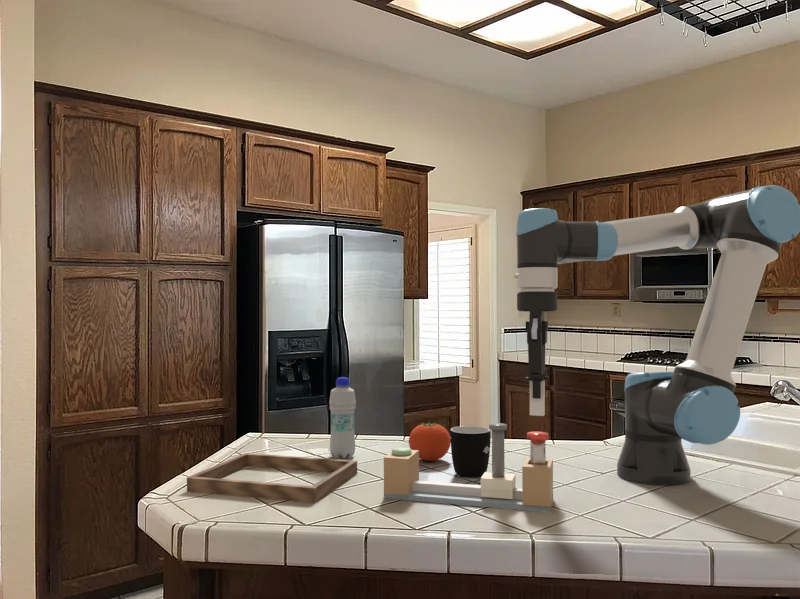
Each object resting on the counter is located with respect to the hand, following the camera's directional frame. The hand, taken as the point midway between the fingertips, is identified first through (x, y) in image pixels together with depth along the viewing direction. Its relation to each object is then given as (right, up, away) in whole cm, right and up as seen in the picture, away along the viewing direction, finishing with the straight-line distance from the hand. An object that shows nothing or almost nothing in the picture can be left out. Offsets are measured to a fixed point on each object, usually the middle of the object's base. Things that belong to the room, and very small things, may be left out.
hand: (537, 414), depth 126 cm
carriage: (-7, -16, +2) cm, 17 cm away
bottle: (-40, -18, +40) cm, 60 cm away
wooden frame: (-53, -17, +17) cm, 58 cm away
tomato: (-19, -18, +36) cm, 44 cm away
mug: (-10, -18, +24) cm, 31 cm away
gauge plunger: (0, -13, 0) cm, 13 cm away
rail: (-13, -17, +4) cm, 22 cm away
